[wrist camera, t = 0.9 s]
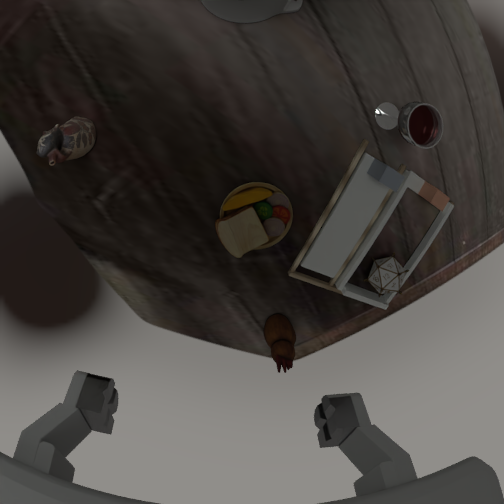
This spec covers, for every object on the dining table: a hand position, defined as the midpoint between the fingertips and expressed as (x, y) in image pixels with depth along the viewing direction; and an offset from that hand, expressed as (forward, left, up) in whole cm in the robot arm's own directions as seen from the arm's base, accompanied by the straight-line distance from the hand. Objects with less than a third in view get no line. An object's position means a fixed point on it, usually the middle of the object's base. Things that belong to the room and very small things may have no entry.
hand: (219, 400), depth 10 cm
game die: (+7, +37, -42) cm, 56 cm away
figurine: (+5, -26, -42) cm, 50 cm away
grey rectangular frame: (+1, +37, -42) cm, 56 cm away
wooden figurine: (+28, +23, -42) cm, 56 cm away
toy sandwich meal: (+8, +8, -42) cm, 44 cm away
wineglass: (-19, +21, -42) cm, 51 cm away
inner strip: (+1, +24, -42) cm, 48 cm away
